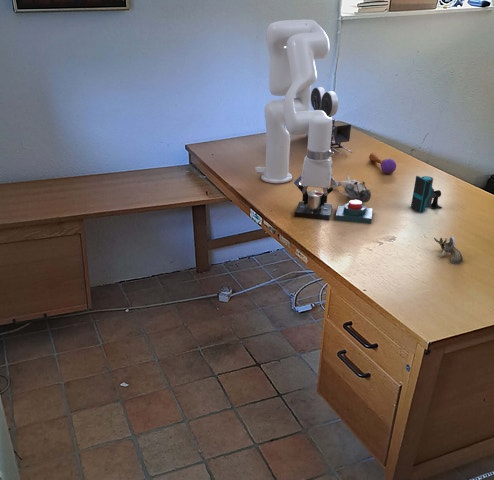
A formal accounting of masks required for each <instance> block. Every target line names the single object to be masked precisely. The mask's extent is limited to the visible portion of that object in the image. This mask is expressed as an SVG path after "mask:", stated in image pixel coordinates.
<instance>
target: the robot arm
mask: <svg viewBox="0 0 494 480" xmlns="http://www.w3.org/2000/svg"><path fill="white" fill-rule="evenodd" d="M265 33H266V34H265V41H266V46H267V50H268V54H269V55H268V56H269V73H268V74H269V76H268V79H269V81H268V85H269V86H268V87H269V88H268V89H269V92H270V94H271V95H272V96H274V97H284V98H277V99H273V100H270V101H268V102H267V103H266V104H265V106H264V111H263V112H264V120H265V121H264V122H265V165H264V166H255V167H254V172H256V174H261V177H260V178H261V180H262V181H264V182H266V183H269V184H285V183H289V182H290V181H292V180H293V175H292V174H291V173H290V171H289V170H290V168H289V167H290V153H291V152H290V151H291V150H290V149H291V135H293V136H297V135H298V136H301V135H306V134H308V138H307V148H306V149H307V150H306V155H305V156H304V159H303V163H302V169H301V175H299V176H298V177H297V178H296V179H295V180H294V181H293V184H294V185H295V186H296V188H298V190H299V191H300V192H301V194H302V199H301V202H304V205H305V204H306V201H307V192H308V188H319V189H322V191H323V198H322V206H324V204H328V195H329V194H331V193H332V192H333V191H335V190H336V189H338V187H339V186H338V183H337V182H336V181H337V180H336V179H335V178H334V176H333V177H332V175H333V159H332V157H333V156H335V151H332V149H331V148H330V145H331V134H332V119H331V118H332V117H331V118H330V117H328V116H327V115H326V113H325V112H324V111H322V110H310V109H311V93H312V85H313V84H315V83H316V82H317V80H318V73H317V67H316V62H315V60H317V59H318V60H319V59H324V58H326V57H327V56H328V54H329V52H330V39H329V37H328V35H327V34H326V33H327V32H325V30H324V29H323V28H322V26H320V25H319V23H317V21H315V20H314V19H310V18H309V19H307V18H306V19H285V20H278V21H273V22H271V23H270V24H269V25H268V27H267V29H266V32H265ZM333 178H334V179H333Z"/></svg>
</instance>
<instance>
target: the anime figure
mask: <svg viewBox="0 0 494 480" xmlns="http://www.w3.org/2000/svg"><path fill="white" fill-rule="evenodd" d="M345 176H346V180H345V179H344V180H341V179H340V180H335V178H334V176H333V174H332V177H333V179H334V180H335V181H336V182H337V183H338V187H340V186H342V187H343V189H344V191H342V190H341V189H340V190H338V193H339V194H341V195H343V196H345V197H348V198H349V199H350V200H360V201H361V202H362V204H364V203H368V202H369V201H370V199H371V196H372V193H371V189H368V188H367V186H366V182H365V181H362V182H360V181H358V180H357V179H351V177H350V174H349V173H346V175H345Z"/></svg>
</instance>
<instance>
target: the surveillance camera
mask: <svg viewBox="0 0 494 480" xmlns="http://www.w3.org/2000/svg"><path fill="white" fill-rule="evenodd" d="M414 181H415V182H414V187H413V194H412V198H411V204H410V208H411V209H412V210H413V211H415V212H417V213H418V214H421V213H423V212H425V211H426V209H429V208H430V209H432V210H436V209H442V207H443V206H440V205H439V204H438V202H439V198H440V197H441V196H442V190H440V189H436V190H435V188H434V187H433V183H434V178H433V177H431V176H428V175H426V176H420V175H416V176H415V180H414Z"/></svg>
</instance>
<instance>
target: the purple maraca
mask: <svg viewBox="0 0 494 480" xmlns="http://www.w3.org/2000/svg"><path fill="white" fill-rule="evenodd" d="M368 160H370V161H372V162H374V163H379V164H380V169H381V171H382V172H383V173H384V174H386V175H387V174H392V173H394V172H395V171H396V169H397V163H396V161H395V160H394V159H392V158H385V159H381V158H380V157H379V156H378V155H377V154H376V153H375V152H372V153H370V154H369V155H368Z"/></svg>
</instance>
